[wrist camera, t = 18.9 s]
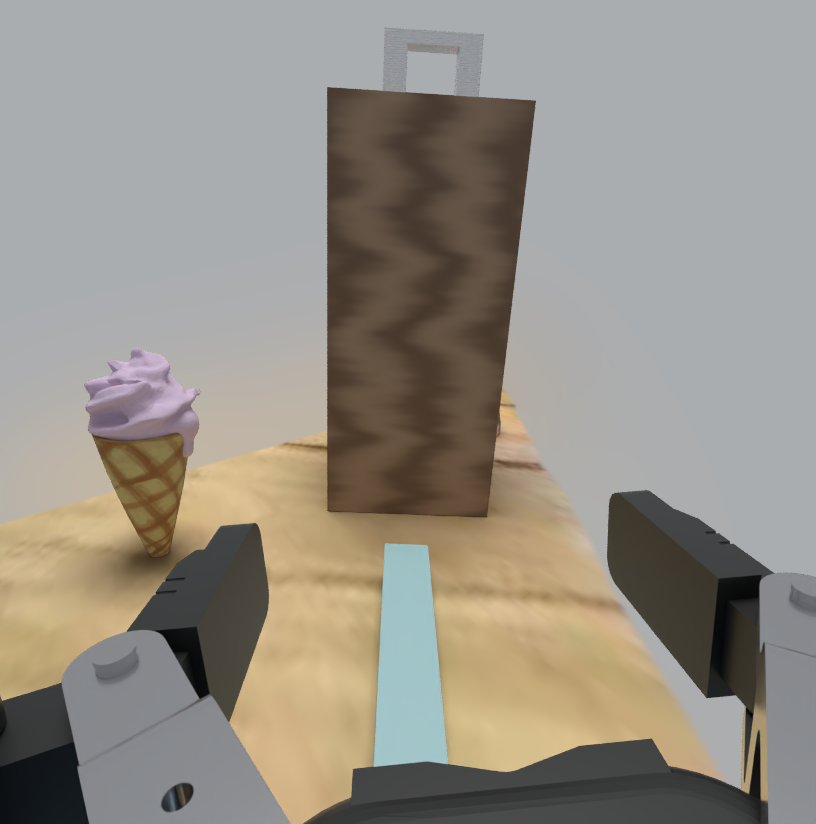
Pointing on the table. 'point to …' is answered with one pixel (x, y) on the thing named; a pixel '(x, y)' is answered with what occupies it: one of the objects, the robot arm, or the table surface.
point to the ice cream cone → (144, 441)
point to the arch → (433, 42)
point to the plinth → (419, 294)
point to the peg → (408, 663)
